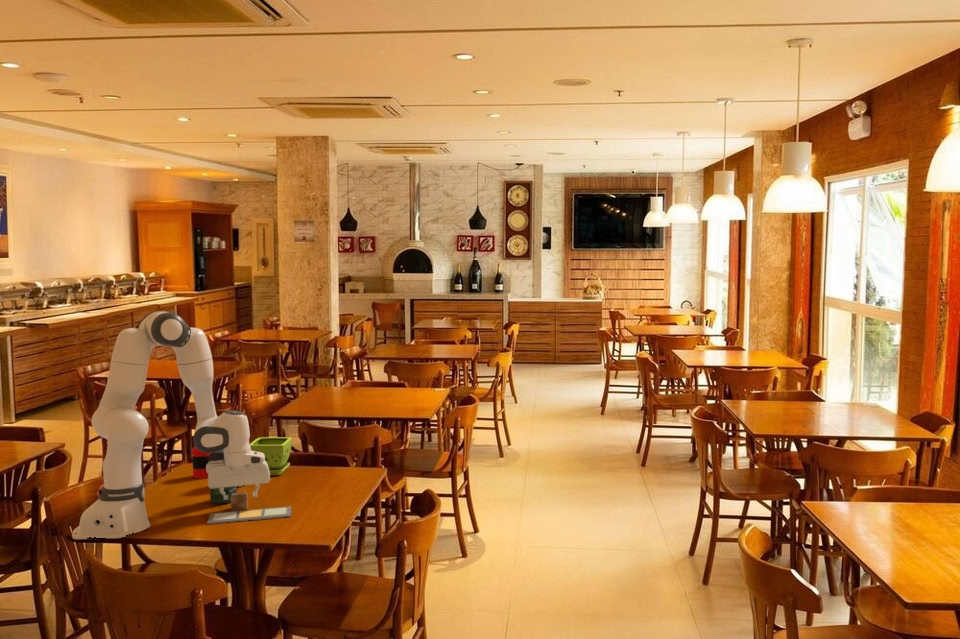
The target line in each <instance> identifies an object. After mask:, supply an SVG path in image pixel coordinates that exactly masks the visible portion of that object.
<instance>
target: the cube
mask: <svg viewBox="0 0 960 639" xmlns="http://www.w3.org/2000/svg"><path fill="white" fill-rule="evenodd" d="M230 506H231V508H230V509H231V512H232V511H243V510H248V509H247V508H248V507H249V501H248V492H237V493H233V494H232V495H231V502H230Z"/></svg>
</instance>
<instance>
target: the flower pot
mask: <svg viewBox="0 0 960 639" xmlns="http://www.w3.org/2000/svg"><path fill="white" fill-rule="evenodd" d="M292 442H293V440H292V437H289V436H285V437H284V436H283V437H282V436H281V437H280V436H270V437H269V436H264V437H263V436H262V437H258V438H256V439H254V440H253V441H252V442H250V443H249V444H250V447H251V451H256V452H261V453H264V455H265V461H266V462H267V464H268V467H269V472H270V476H281V475H282V474H283V473H284V472H285V471H287V470H288V468H289V467H290V465H291V463H290V462H288V460H289V458H290V454H291V450H292ZM286 469H287V470H286Z"/></svg>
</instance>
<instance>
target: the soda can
mask: <svg viewBox="0 0 960 639" xmlns="http://www.w3.org/2000/svg"><path fill="white" fill-rule="evenodd" d="M210 453H211V452H210ZM210 453H204V452H201V451H199V450H198V449H197V448H196V447H195V446H194V447H193V448H192V449H191V457H192V476H193V478H194V479H196V478H198V479H197V480H200V479H199V478H204V479H208V475H209V474H208V473H207V472H206V465H207V463H209V454H210Z"/></svg>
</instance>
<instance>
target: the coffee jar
mask: <svg viewBox="0 0 960 639" xmlns="http://www.w3.org/2000/svg"><path fill="white" fill-rule="evenodd" d="M223 459H224V450H223V449H221V450H218V451H215V452H211V453H210V454H209V462H210V461H213V460H214V461H216V460H223ZM209 464H210V463H209ZM209 489H210V488H209ZM224 492H225V493H226V494H228V500H224V497H223V495H222V494H221V492H220V489H219V488H214V489H210V491H209V493H210V495H209V496H210V503H213V504H216V505H222V504H229V503H231V495H232V494H233V493H238V489H237V486H233V487H224Z"/></svg>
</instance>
